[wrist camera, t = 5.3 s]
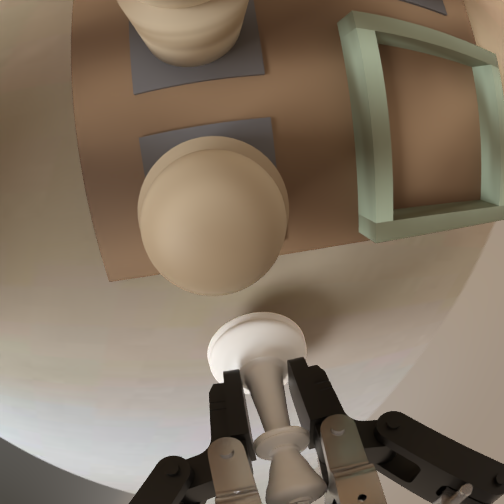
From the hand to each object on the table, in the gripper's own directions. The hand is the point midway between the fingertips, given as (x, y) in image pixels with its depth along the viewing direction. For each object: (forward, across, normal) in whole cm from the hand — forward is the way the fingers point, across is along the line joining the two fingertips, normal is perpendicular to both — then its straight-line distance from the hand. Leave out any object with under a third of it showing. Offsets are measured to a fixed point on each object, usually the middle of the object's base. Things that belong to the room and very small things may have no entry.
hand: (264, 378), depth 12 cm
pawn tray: (+3, -4, -15) cm, 16 cm away
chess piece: (+2, 0, 0) cm, 2 cm away
